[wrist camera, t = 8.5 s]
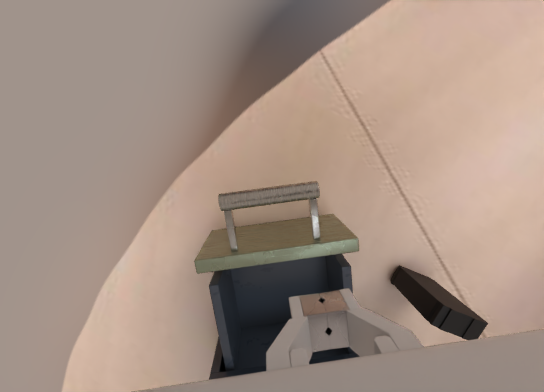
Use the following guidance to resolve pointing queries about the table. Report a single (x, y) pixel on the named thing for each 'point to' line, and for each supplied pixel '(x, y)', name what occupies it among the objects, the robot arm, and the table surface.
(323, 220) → the drawer
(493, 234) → the table surface
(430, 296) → the ink cartridge
